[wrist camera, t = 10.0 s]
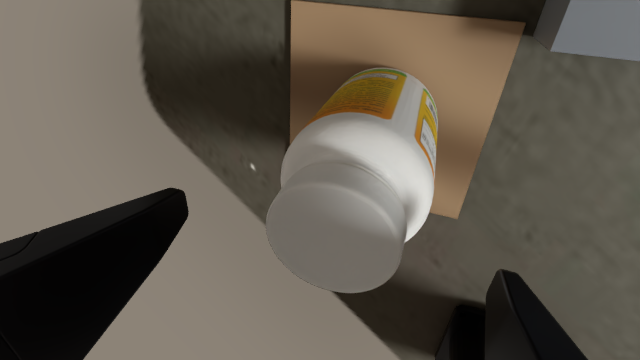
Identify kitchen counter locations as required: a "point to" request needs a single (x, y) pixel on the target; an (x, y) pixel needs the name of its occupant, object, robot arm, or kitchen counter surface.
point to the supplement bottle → (357, 183)
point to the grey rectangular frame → (591, 28)
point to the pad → (415, 59)
